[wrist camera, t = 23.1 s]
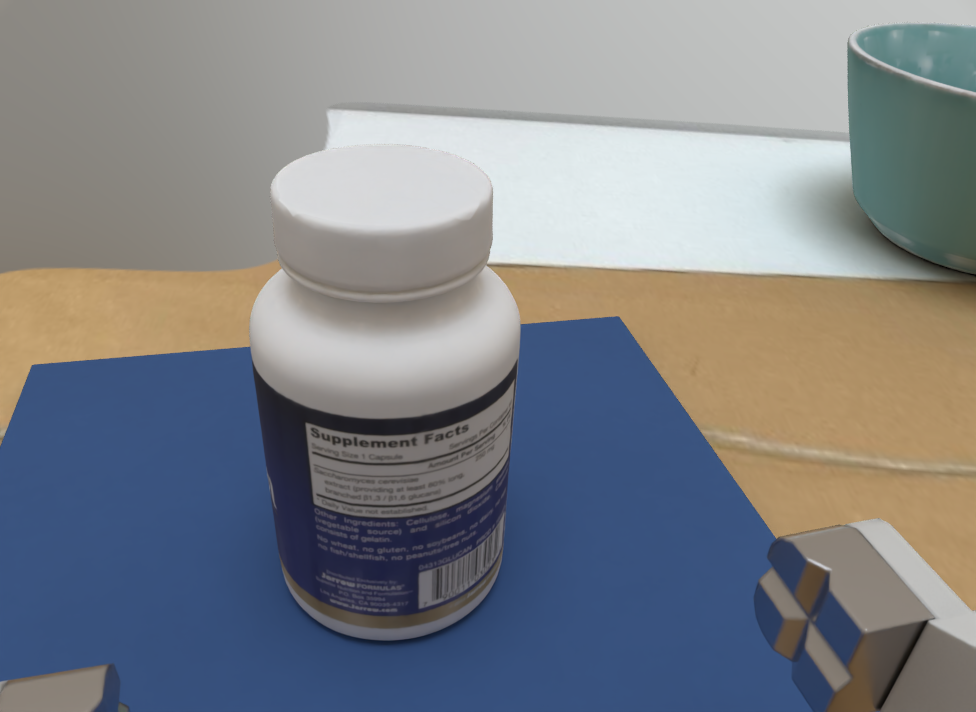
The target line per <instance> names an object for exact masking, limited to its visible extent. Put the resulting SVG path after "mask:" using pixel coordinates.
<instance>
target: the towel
mask: <svg viewBox="0 0 976 712" xmlns="http://www.w3.org/2000/svg"><path fill="white" fill-rule="evenodd" d="M775 540H776V538H775V536H774V535H773V534H772V532H771V531H770V529H769V528H768V527H767V525H766V524H765V522H764V521H763V519H762V518H761V517H760V515H759V514H758V512H757V511H756V510H755V508H754V507H753V505H752V504H751V503H750V501H749V500H748V498H747V497H746V495H745V494H744V493H743V491H742V490H741V488H740V487H739V486H738V484H737V483H736V481H735V480H734V479H733V477H732V476H731V474H730V473H729V471H728V470H727V469H726V467H725V466H724V464H723V463H722V462H721V460H720V459H719V457H718V456H717V454H716V453H715V452H714V450H713V449H712V447H711V446H710V445H709V443H708V442H707V440H706V439H705V438H704V436H703V435H702V433H701V432H700V430H699V429H698V428H697V426H696V425H695V423H694V422H693V421H692V419H691V418H690V416H689V415H688V413H687V412H686V411H685V409H684V408H683V406H682V405H681V404H680V402H679V401H678V399H677V398H676V397H675V395H674V394H673V392H672V391H671V389H670V388H669V387H668V385H667V384H666V382H665V381H664V380H663V378H662V377H661V375H660V374H659V372H658V371H657V370H656V368H655V367H654V365H653V364H652V363H651V361H650V360H649V358H648V357H647V356H646V354H645V353H644V351H643V350H642V348H641V347H640V346H639V344H638V343H637V341H636V340H635V339H634V337H633V336H632V334H631V333H630V331H629V330H628V329H627V327H626V326H625V324H624V323H623V322H622V320H621V319H620V317H618V316H616V317H604V318H592V319H580V320H568V321H556V322H544V323H532V324H520V349H519V361H518V373H517V383H516V394H515V406H514V418H513V430H512V442H511V452H510V464H509V476H508V488H507V502H506V516H505V530H504V545H503V554H502V561H501V565H500V569H499V572H498V575H497V577H496V580H495V582H494V584H493V586H492V587H491V589H490V591H489V592H488V594H487V595H486V597H485V598H484V599H483V600H482V601H481V602H480V603H479V605H478V606H476V607H475V608H474V609H473V610H472V611H471V612H470V613H469V614H467V615H466V616H465V617H463V618H462V619H460V620H458V621H457V622H455V623H453V624H452V625H450V626H448V627H445V628H443V629H441V630H439V631H436V632H433V633H430V634H427V635H424V636H420V637H416V638H410V639H404V640H390V641H385V640H369V639H362V638H357V637H352V636H348V635H345V634H342V633H339V632H336V631H334V630H332V629H330V628H328V627H326V626H324V625H323V624H321V623H320V622H318V621H317V620H315V619H314V618H312V617H311V616H310V615H309V614H308V613H307V612H306V611H305V610H304V609H302V607H301V606H300V605H299V604H298V602H297V601H296V600H295V599H294V597H293V595H292V594H291V592H290V590H289V588H288V586H287V584H286V581H285V578H284V574H283V571H282V566H281V561H280V557H279V551H278V544H277V537H276V530H275V523H274V516H273V509H272V501H271V495H270V489H269V481H268V476H267V469H266V461H265V454H264V447H263V439H262V432H261V425H260V418H259V410H258V403H257V395H256V388H255V382H254V375H253V366H252V356H251V347H242V348H230V349H218V350H206V351H194V352H182V353H170V354H158V355H146V356H134V357H121V358H109V359H97V360H85V361H73V362H61V363H49V364H37V365H32V367H31V369H30V372H29V374H28V377H27V380H26V382H25V385H24V387H23V390H22V392H21V395H20V398H19V400H18V403H17V405H16V408H15V410H14V413H13V415H12V418H11V421H10V423H9V426H8V428H7V431H6V433H5V436H4V439H3V441H2V444H1V446H0V682H1V681H7V680H13V679H19V678H25V677H32V676H38V675H44V674H50V673H56V672H62V671H68V670H75V669H81V668H87V667H93V666H99V665H105V664H112V663H114V665H115V668H116V670H117V673H118V675H119V678H120V681H121V685H120V696H119V702H121V703H123V704H125V705H127V706H129V708H130V712H813V711H812V709H811V708H810V706H809V705H808V703H807V702H806V700H805V698H804V697H803V695H802V694H801V692H800V691H799V689H798V688H797V686H796V685H795V683H794V682H793V680H792V661H790V660H788V659H787V658H785V657H783V656H782V655H780V654H779V653H777V652H775V651H774V650H772V648H771V647H770V645H769V643H768V642H767V640H766V639H765V637H764V636H763V634H762V632H761V629H760V627H759V624H758V622H757V619H756V615H755V607H754V599H753V597H754V593H755V590H756V586H757V583H758V580H759V579H760V578H761V577H762V576H763V575H764V574H765V573H766V572H767V571H768V570H769V569H770V568H771V567H772V565H771V564H770V562H769V560H768V559H767V557H766V556H767V554H768V551H769V548H770V546H771V543H773V542H774V541H775ZM877 712H880V711H877Z"/></svg>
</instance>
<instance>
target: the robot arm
mask: <svg viewBox="0 0 976 712" xmlns="http://www.w3.org/2000/svg"><path fill="white" fill-rule="evenodd" d="M766 557H767V559H768V560H769V562H770V564H771V565H772V567H771V568H770V569H769V570H768V571H767V572H766V573H765V574H764V575H763V576H762V577H761V578H760V579H759V580H758V583H757V586H756V590H755V593H754V597H753V599H754V607H755V615H756V619H757V622H758V624H759V627H760V629H761V632H762V634H763V636H764V637H765V639H766V640H767V642H768V643H769V645H770V647H771V648H772V650H774V651H775V652H777V653H779V654H780V655H782V656H783V657H785V658H787V659H788V660H790V661H792V680H793V682H794V683H795V685H796V686H797V688H798V689H799V691H800V692H801V694H802V695H803V697H804V698H805V700H806V702H807V703H808V705H809V706H810V708H811V709H812V711H813V712H877V711H880V712H976V610H973V611H971V610H970V609H969V608H968V607H967V605H966V604H965V603H964V602H963V601H962V600H961V599H960V598H959V597H958V596H957V595H956V594H955V593H954V592H953V590H952V589H951V588H950V587H949V586H948V585H947V584H946V583H945V582H944V581H943V580H942V579H941V578H940V577H939V576H938V574H937V573H936V572H935V571H934V570H933V569H932V568H931V567H930V566H929V565H928V564H927V563H926V562H925V561H924V560H923V558H922V557H921V556H920V555H919V554H918V553H917V552H916V551H915V550H914V549H913V548H912V547H911V546H910V545H909V543H908V542H907V541H906V540H905V539H904V538H903V537H902V536H901V535H900V534H899V533H898V532H897V531H896V530H895V529H894V527H893V526H892V525H890V524H889V523H887V522H885V521H883V520H881V519H880V518H878V519H871V520H865V521H860V522H855V523H850V524H846V525H835V526H830V527H825V528H820V529H815V530H810V531H805V532H800V533H796V534H791V535H786V536H781V537H779V538H777V539H776V540H775V541H774V542H773V543H771V546H770V548H769V551H768V554H767V556H766ZM120 685H121V681H120V678H119V675H118V673H117V670H116V668H115V665H114V663H112V664H105V665H99V666H93V667H87V668H81V669H75V670H68V671H62V672H56V673H50V674H44V675H38V676H32V677H25V678H19V679H13V680H7V681H1V682H0V712H130V708H129V706H127V705H125V704H123V703H121V702H119V696H120Z"/></svg>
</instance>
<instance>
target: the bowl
mask: <svg viewBox="0 0 976 712" xmlns="http://www.w3.org/2000/svg"><path fill="white" fill-rule="evenodd" d="M848 109H849V134H850V149H851V165H852V182H853V192H854V195H855V198H856V200H857V202H858V203H859V205H860V206H861V208H862V209H863V210H864V211H865V213H866V214H867V215H868V217H869V218H870V219H871V221H872V222H873V224H874V225H875V226H876V228H877V229H878V230H879V231H880V232H881V233H882V234H883V235H884V236H885V237H886V238H888V239H889V240H890V241H892V242H893V243H895V244H896V245H898V246H899V247H901V248H903V249H905V250H906V251H908V252H910V253H912V254H914V255H916V256H919V257H921V258H923V259H926V260H928V261H931V262H933V263H936V264H939V265H942V266H945V267H948V268H952V269H955V270H958V271H962V272H966V273H971V274H975V275H976V26H970V25H957V24H941V23H888V24H878V25H873V26H867V27H864V28H861V29H859V30H857V31H855V32H854V33H852V34H851V35H850V37H849V39H848Z"/></svg>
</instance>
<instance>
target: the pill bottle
mask: <svg viewBox="0 0 976 712" xmlns="http://www.w3.org/2000/svg"><path fill="white" fill-rule="evenodd" d="M270 191H271V193H270V195H271V206H272V218H273V231H274V243H275V247H276V249H277V253H278V254H277V256H278V261H279V263H280V266H281V267H282V269H281V270H280V271H278V272H277V273H276V274H275V275H274V276H273V277H272V278H271V279H270V280H269V281H268V282H267V283H266V284H265V286H264V287H263V288H262V290H261V291H260V293H259V295H258V297H257V299H256V301H255V303H254V305H253V308H252V312H251V317H250V325H249V336H250V347H251V356H252V366H253V375H254V382H255V388H256V395H257V403H258V410H259V418H260V425H261V432H262V439H263V447H264V454H265V461H266V469H267V476H268V481H269V489H270V495H271V501H272V509H273V516H274V523H275V530H276V537H277V544H278V551H279V557H280V561H281V566H282V571H283V574H284V578H285V581H286V584H287V586H288V588H289V590H290V592H291V594H292V595H293V597H294V599H295V600H296V601H297V602H298V604H299V605H300V606H301V607H302V609H304V610H305V611H306V612H307V613H308V614H309V615H310V616H311V617H312V618H314V619H315V620H317V621H318V622H320V623H321V624H323V625H324V626H326V627H328V628H330V629H332V630H334V631H336V632H339V633H342V634H345V635H348V636H352V637H357V638H362V639H369V640H385V641H390V640H404V639H410V638H416V637H420V636H424V635H427V634H430V633H433V632H436V631H439V630H441V629H443V628H445V627H448V626H450V625H452V624H453V623H455V622H457V621H458V620H460V619H462V618H463V617H465V616H466V615H467V614H469V613H470V612H471V611H472V610H473V609H474V608H475V607H476V606H478V605H479V603H480V602H481V601H482V600H483V599H484V598H485V597H486V595H487V594H488V592H489V591H490V589H491V587H492V586H493V584H494V582H495V580H496V577H497V575H498V572H499V569H500V565H501V561H502V554H503V545H504V530H505V516H506V502H507V488H508V476H509V464H510V452H511V442H512V430H513V418H514V406H515V394H516V383H517V373H518V361H519V349H520V316H519V311H518V307H517V304H516V302H515V300H514V298H513V296H512V294H511V292H510V291H509V289H508V287H507V286H506V285H505V283H504V282H503V281H502V280H501V278H500V277H499V276H498V275H497V274H496V273H495V272H494V271H492V270H491V269H490V268H489V267H488V266H486V264H487V261H488V259H489V254H490V248H491V245H492V240H493V232H492V216H493V188H492V184H491V181H490V179H489V177H488V176H487V174H486V173H485V172H484V171H483V170H481V169H480V168H479V167H478V166H476V165H475V164H474V163H472V162H470V161H468V160H466V159H464V158H461V157H459V156H457V155H454V154H450V153H447V152H444V151H440V150H435V149H430V148H425V147H418V146H411V145H396V144H366V145H355V146H346V147H339V148H333V149H328V150H324V151H320V152H316V153H313V154H310V155H307V156H304V157H302V158H300V159H297V160H295V161H293V162H292V163H290V164H288V165H287V166H285V167H284V168H283V169H282V170H281V171H280V172H279V173H278V174H277V175H276V177H275V178H274V180H273V182H272V185H271V189H270Z"/></svg>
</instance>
